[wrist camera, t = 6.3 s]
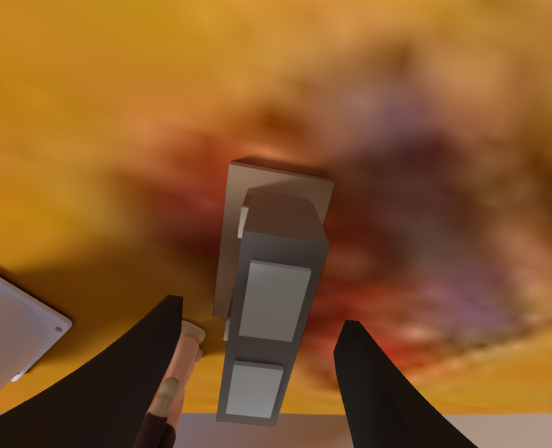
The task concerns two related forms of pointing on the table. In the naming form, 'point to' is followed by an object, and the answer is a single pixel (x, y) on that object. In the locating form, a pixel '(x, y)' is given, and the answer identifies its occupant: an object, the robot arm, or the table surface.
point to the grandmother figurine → (171, 392)
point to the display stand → (237, 203)
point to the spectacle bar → (270, 306)
